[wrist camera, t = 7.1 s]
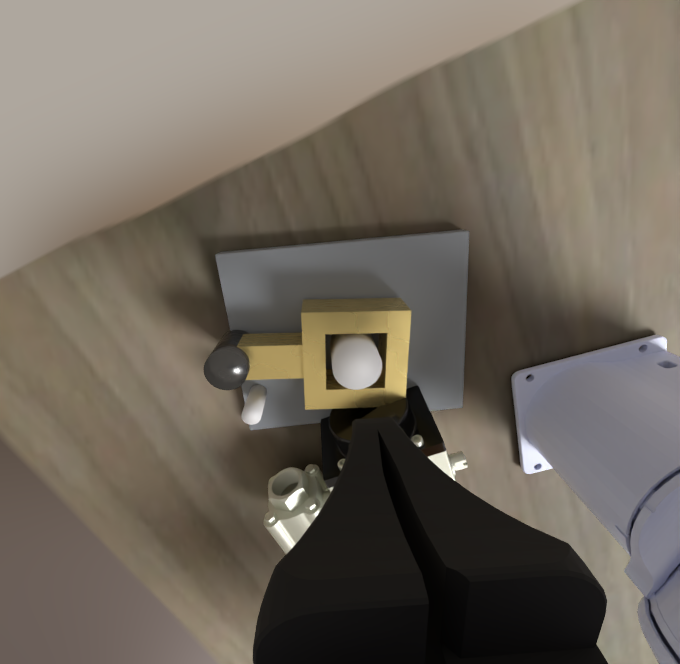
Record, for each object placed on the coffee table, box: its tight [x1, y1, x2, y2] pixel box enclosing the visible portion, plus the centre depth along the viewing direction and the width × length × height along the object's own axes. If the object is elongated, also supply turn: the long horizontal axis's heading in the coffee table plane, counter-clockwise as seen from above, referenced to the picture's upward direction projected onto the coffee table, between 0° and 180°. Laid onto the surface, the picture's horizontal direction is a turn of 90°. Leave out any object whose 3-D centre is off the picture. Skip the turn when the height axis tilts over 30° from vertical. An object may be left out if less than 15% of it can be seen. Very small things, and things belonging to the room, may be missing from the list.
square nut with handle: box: [204, 298, 411, 410], centre depth 19 cm, size 5×10×3 cm, turn 90°
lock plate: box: [215, 230, 469, 430], centre depth 19 cm, size 13×10×4 cm
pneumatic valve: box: [263, 385, 468, 554], centre depth 22 cm, size 6×12×12 cm
